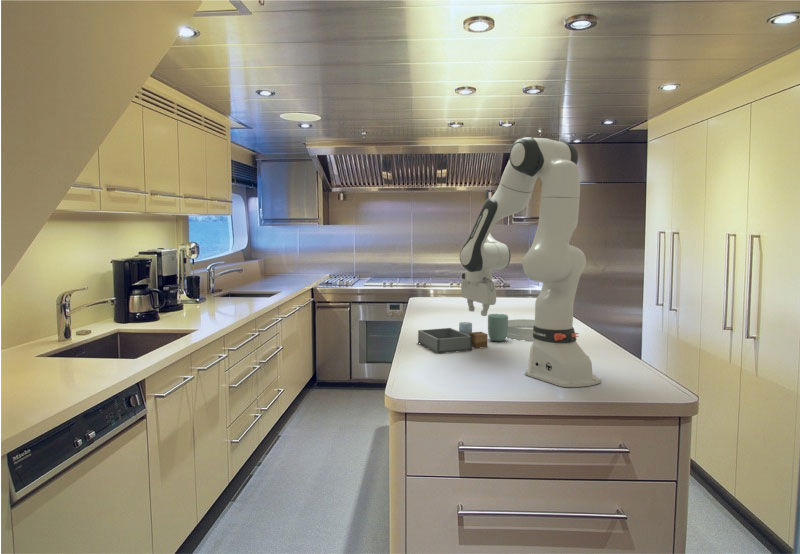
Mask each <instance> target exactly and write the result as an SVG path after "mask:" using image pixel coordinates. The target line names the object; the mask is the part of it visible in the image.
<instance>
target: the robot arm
mask: <svg viewBox="0 0 800 554" xmlns="http://www.w3.org/2000/svg"><path fill="white" fill-rule="evenodd" d="M508 159H509V160H508V161H507V164H506V166H505V168H504V171H503V173H502V175H501V178H500V182H499V185H498V186H497V189H496V190H495V192H494V194H492V196H491V197H490V198H489V199H488V200H487V201H486V202H485V203H484V205H483V206H482V208H481V210H480V212H479V214H478V217H477V219H476V221H475V224H474V226H473V228H472V230H471V232H470V234H469V236H468V239H467V241H465V243H464V245H463V247H462V248H461V250H460V253H459V262H460V264H461V265H462V267H463V268H464V269H465V271H464V272H461V274H460V279H461V286H460V289H461V290H460V292H461V293H460V294H461V296H462V298H464V299H466V301H467V302H466V303H467V306H468V311H469V312H472V313H473V312H475V309H476V307H475V306H474V303H475V302H477V303H479V304H482V305H481V306H482V310H480V315H481V316H482V317H488V311H489V308H490V306H494V305H496V302H497V290H496V284H494V282H493V279H492V271H495V270H502V269H503V270H504V269H506V268H507V267H508V266H509V264H510V263H511V262H510V261H511V250H510V248H509V246H508V245H507V244H505V242H504V243H502V242H501V241H498V240H496V239H495V238H494V237H493V236H492V234H491V231H492V229H493V227H494V225H495V224H496V223H498V222H500V220H502V219H504V218H506V217H510V216H512V215H515V214H517V213H519V212H522V211H523V210H524V209H526V207H527V206H528V204H529V202H530V200H531V198H532V195H533V191H534V187H535V184H536V183H537V182H536V181H537V179H538V178H539V179H540V181H541V190H540V203H539V214H538V223H537V228H536V231H535V234H534V235H535V236H534V238H533V240H532V244H531V245H530V246H531V247H530V248H529V250H528V251H527V252H526V253H525V254H524V256H523V260H522V270H523V272H524V274H525V275H526V277H527V278H529V280H531V281H533V282H534V281H535V282H539V283H542V287H541V290H540V293H539V294H538V295H537V297H536V299H535V303H534V320H535V325H534V326H533V337H534V341H532V345H531V346H530V350H529V356H528V357H529V358H528V367H527V369H526V370H525V371H524V375H525V376H528V377H530V378H535V379H537V380H541V381H544V382H546V383H549V384H553V385H556V386H557V387H558V386H559V387H562V388H579V387H589V386H594V385H595V386H596V385H598V384H601V382H602V379H601V378H600V377H599V376H597V375H595V374H593V364H592V363H593V362H592V360H591V359H590V356H589V355H587V354H586V353H585V351H584V349H583V348H581V346H580V345H579V344H578V342H577V338H578V337H579V332H575V328H574V327H573V326H574V325H573V324H574V304H575V297H576V293H577V289H578V285H579V281H580V278H581V275H582V273H583V272H584V270H585V268H586V266H587V257H586V255H585V253H584V251H582V250H581V248H578V247H577V246H574V245H572V244H570V241H571V238H572V235H573V233H574V231H575V230H576V229H577V226H578V224H579V223H578V222H579V212H580V211H579V210H580V201H581V200H580V197H581V181H580V180H581V179H580V177H581V176H580V171H579V166H578V161H579V153H578V150H577V149H576V147H575V146H574V145H573V144H571V143H568V142H567V141H559V140H554V139H550V138H546V137H545V138H544V137H530V136H529V137H528V136H527V137H522V138H518V139H517V140H515V141H514V143H513V144H512V146H511V148H510V151H509V158H508Z"/></svg>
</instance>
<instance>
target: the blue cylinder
mask: <svg viewBox="0 0 800 554" xmlns="http://www.w3.org/2000/svg"><path fill="white" fill-rule="evenodd" d="M458 328H459V329H458V331H459V332H462V333H464V334H467V335H469V333H471V332H473V323H472V322H470V321H469V322H468V321H461V322H459V323H458Z"/></svg>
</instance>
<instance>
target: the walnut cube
mask: <svg viewBox="0 0 800 554" xmlns="http://www.w3.org/2000/svg"><path fill="white" fill-rule="evenodd" d="M469 336H472V348H473V347H474V349H481V348H480V347H485V348H488V339H489V335H488V333H486V332H482V331H472V332H471V333H469Z"/></svg>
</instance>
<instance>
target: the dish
mask: <svg viewBox="0 0 800 554" xmlns="http://www.w3.org/2000/svg"><path fill="white" fill-rule="evenodd" d="M534 325H535V319H522V318H521V319H510V320H509V319H508V333H507V338H506V339H509V338H511V339H510V340H513V339H516V341H520V340H525V341H524V342H534V337H533V326H534Z"/></svg>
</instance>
